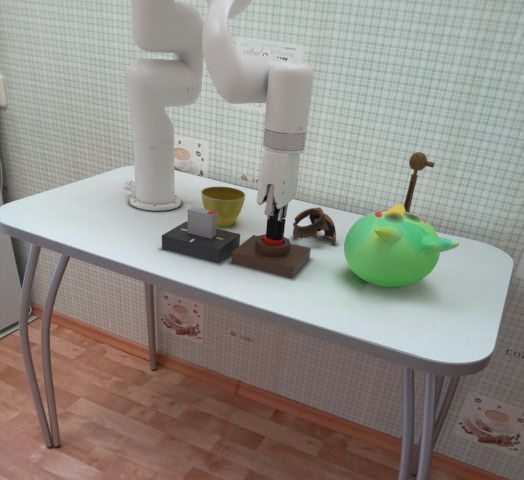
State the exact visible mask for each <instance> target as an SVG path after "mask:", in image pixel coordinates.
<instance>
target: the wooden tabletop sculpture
mask: <svg viewBox="0 0 524 480" xmlns="http://www.w3.org/2000/svg"><path fill="white" fill-rule="evenodd" d="M408 166H409V167H410V169H411V170H413V173H411V174H410V178H409V179H410V180H409V184H408V188H407V191H406V196H405V199H404V203H403V206H404V208H405V211H406V212H409V213H410V210H411V206H412V202H413V196H414V192H415V188H416V185H417V181H418V177H419V175H418V171H422V170H424V169H425V168H426V167H428V168H434V166H435V162H434V161H429V160H428V157H427V156H426V154H425V153H423V152H421V151H416V152H414V153H412V155H411V156H410V157H409V160H408Z"/></svg>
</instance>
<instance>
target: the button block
mask: <svg viewBox="0 0 524 480" xmlns="http://www.w3.org/2000/svg"><path fill="white" fill-rule="evenodd" d="M265 235H266V233H265V234H260V235H257V234H252V235H251V236H250V237H249V238H247V239H246V240H244V241H243V242H242V243H240V245H239V247H237V248H236V249H235V250H234V251H232V253H231V258H230V259H231V260H230V261H231V263H230V264H233V265H237V266H240V267H245V268H249V269H253V270H257V271H261V272H264V273H268V274H271V275H276V276H280V277H283V278H287V279H293V278H294V277H295V276H296V275H297V274H298V273H299V271H301V269H302V268H303V267H304V266H305V264H306V263H308V261H309V260H310V256H311V249H312V248H311V247H307V246H304V245H298V244H296V243H295V244H294V243H292V242H291V240H290V239H289V238H287V237H285V236H284V237H283V244H281V245H270V244H266V243H264V242H263V238H264V236H265Z"/></svg>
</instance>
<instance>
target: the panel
mask: <svg viewBox="0 0 524 480" xmlns="http://www.w3.org/2000/svg"><path fill="white" fill-rule="evenodd" d="M240 245H241V233H238V232H233V231H229V230H224V229H220V228H218V227H216V236H215V237H213V238H212V239H210V238H206V237H202V236H197V235H193V234H189V233H188V220H186V221H184V222H182V223H181V224H178V225H176V226H175V227H174V228H171V229H170V230H168V231H167V232H164V233H163V234H162V235H161V249H162V250H164V251H167V252H173V253H175V254H180V255H183V256H187V257H192V258H195V259H198V260H204V261H206V262H211V263H214V264H221V263H222V262H223V261H224V260H225V259H227V258H228V257H229V256H230V255H232V251H234V250H235V249H236V248H237V247H239V246H240Z"/></svg>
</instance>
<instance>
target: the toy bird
mask: <svg viewBox="0 0 524 480" xmlns="http://www.w3.org/2000/svg"><path fill="white" fill-rule="evenodd" d="M459 246H460V243H459V241H457V240H455V239H451V238H446V237H445V238H444V237H439V235H438V233H437V231H436V230H435V228H434V227H433V226H432V224H431V223H429V222H428V221H427V220H426V219H424V218H423V217H421V216H419V215H417V214H415V213H412V212H410V211H409V212H406V211H405V208H404V203H396V204H394V205H393V206H391V207H390V208H389V209H383V210H378V211H373V212H371V213H368V214H366V215H364V216H362V217H360V218H359V219H358V220H356V221H355V222H354V223H353V225H352V226H351V227H350V228H349V230H348V232H347V234H346V236H345V239H344V243H343V252H344V258H345V261H346V263H347V265H348V267H349V268H350V270H351V271H352V272H353V273H354V274H355V275H356V276H357V277H359V278H360V279H361V280H362V281H365V282H367V283H370V284H372V285H374V286H375V285H376V286H380V287H387V288H399V287H405V286H406V287H407V286H410V285H413V284H415V283H418V282H420V281H421V280H423V279H424V278H426V277H427V276H428V275H430V273H432V271H433V270H434V269H435V267H436V266H437V264H438V262H439V259H440V255H441V253H444V252H447V251H450V250H454V249H456V248H457V247H459Z"/></svg>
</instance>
